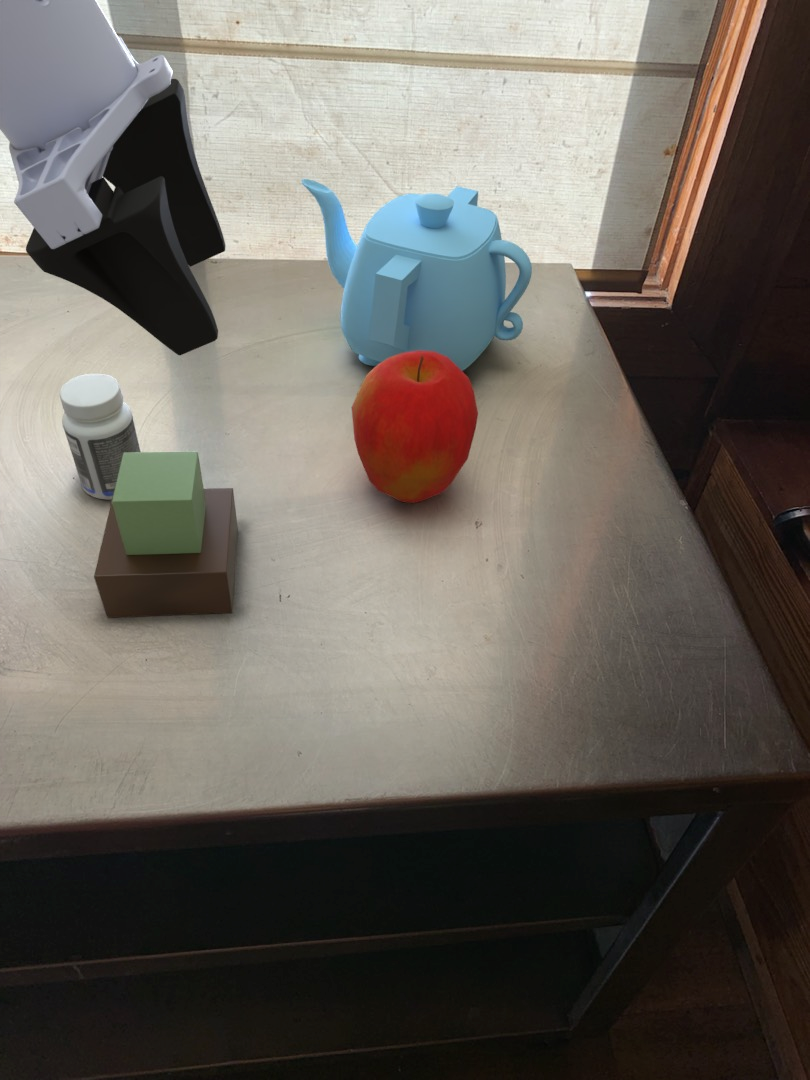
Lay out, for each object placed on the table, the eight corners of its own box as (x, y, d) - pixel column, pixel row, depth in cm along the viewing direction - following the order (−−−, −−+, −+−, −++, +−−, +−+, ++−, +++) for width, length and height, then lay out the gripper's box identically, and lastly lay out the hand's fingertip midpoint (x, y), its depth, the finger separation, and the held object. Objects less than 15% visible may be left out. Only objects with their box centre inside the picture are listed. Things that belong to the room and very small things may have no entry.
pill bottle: (154, 464, 62) (135, 373, 56) (134, 505, 59) (111, 412, 53) (95, 458, 62) (69, 366, 56) (71, 497, 59) (41, 404, 53)
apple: (394, 437, 66) (402, 307, 58) (487, 480, 63) (511, 349, 55) (326, 496, 61) (325, 361, 52) (425, 546, 57) (441, 411, 49)
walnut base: (106, 618, 51) (93, 576, 48) (124, 531, 57) (113, 489, 54) (232, 613, 52) (226, 572, 49) (238, 528, 58) (232, 487, 55)
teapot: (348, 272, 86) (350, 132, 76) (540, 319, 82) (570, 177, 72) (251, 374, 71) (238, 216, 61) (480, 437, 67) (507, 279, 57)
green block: (126, 555, 50) (111, 501, 46) (136, 505, 53) (123, 452, 50) (201, 553, 50) (191, 499, 47) (206, 504, 53) (198, 451, 50)
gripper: (45, -13, 22) (278, 355, 32) (115, -115, 32) (278, 192, 41) (-152, 97, 23) (129, 417, 33) (-28, -33, 33) (162, 245, 43)
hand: (203, 296), depth 37 cm, fingers open, 7 cm apart
